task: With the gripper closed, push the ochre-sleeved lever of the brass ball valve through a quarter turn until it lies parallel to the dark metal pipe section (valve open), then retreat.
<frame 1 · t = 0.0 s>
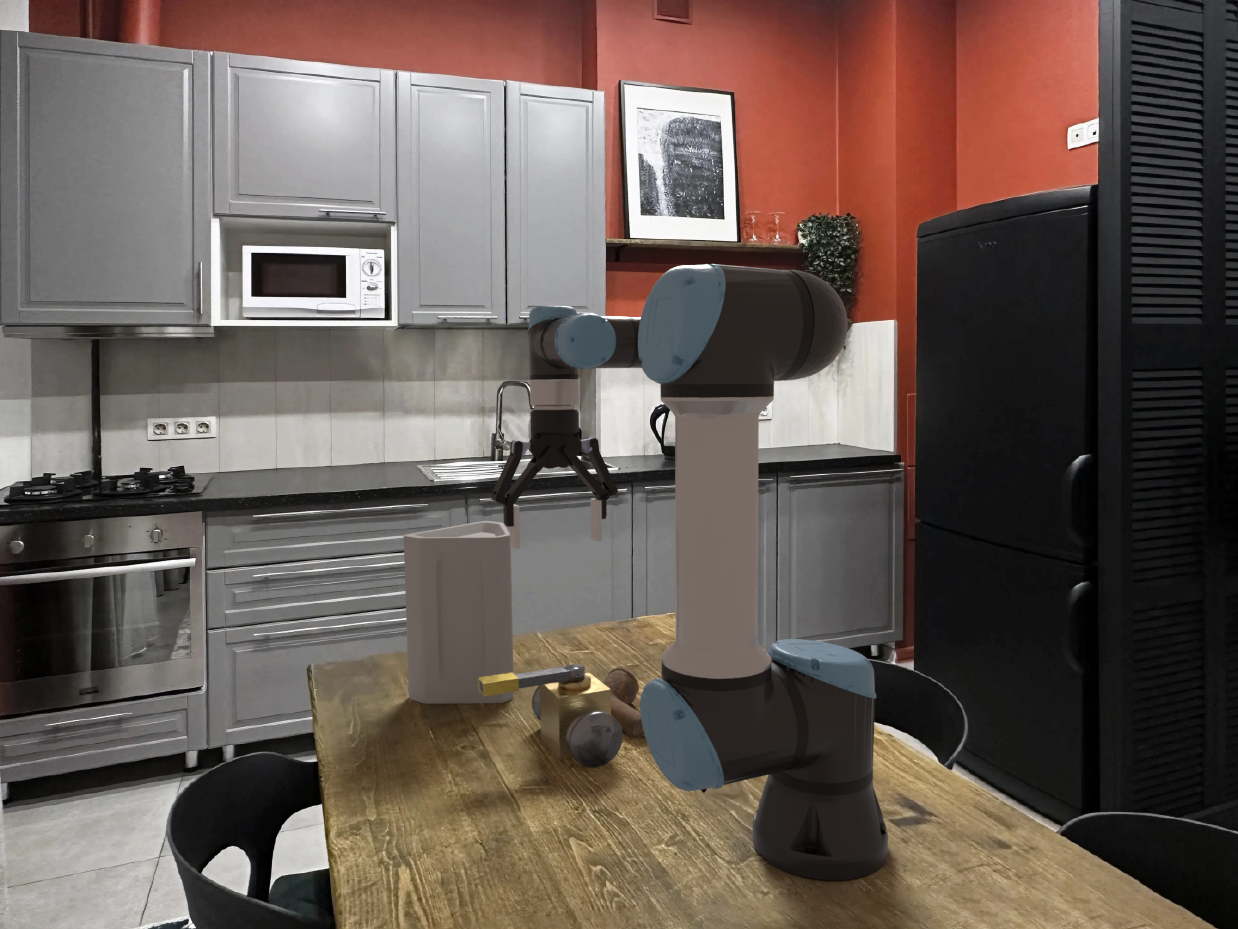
hand: (556, 543, 136), 28 cm above the table, fingers open, 13 cm apart
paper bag: (478, 692, 150), on the table
valve body: (575, 744, 128), on the table
pipe: (625, 720, 138), on the table
lever: (533, 678, 124), point 11 cm above the table, hinge at 90.0°
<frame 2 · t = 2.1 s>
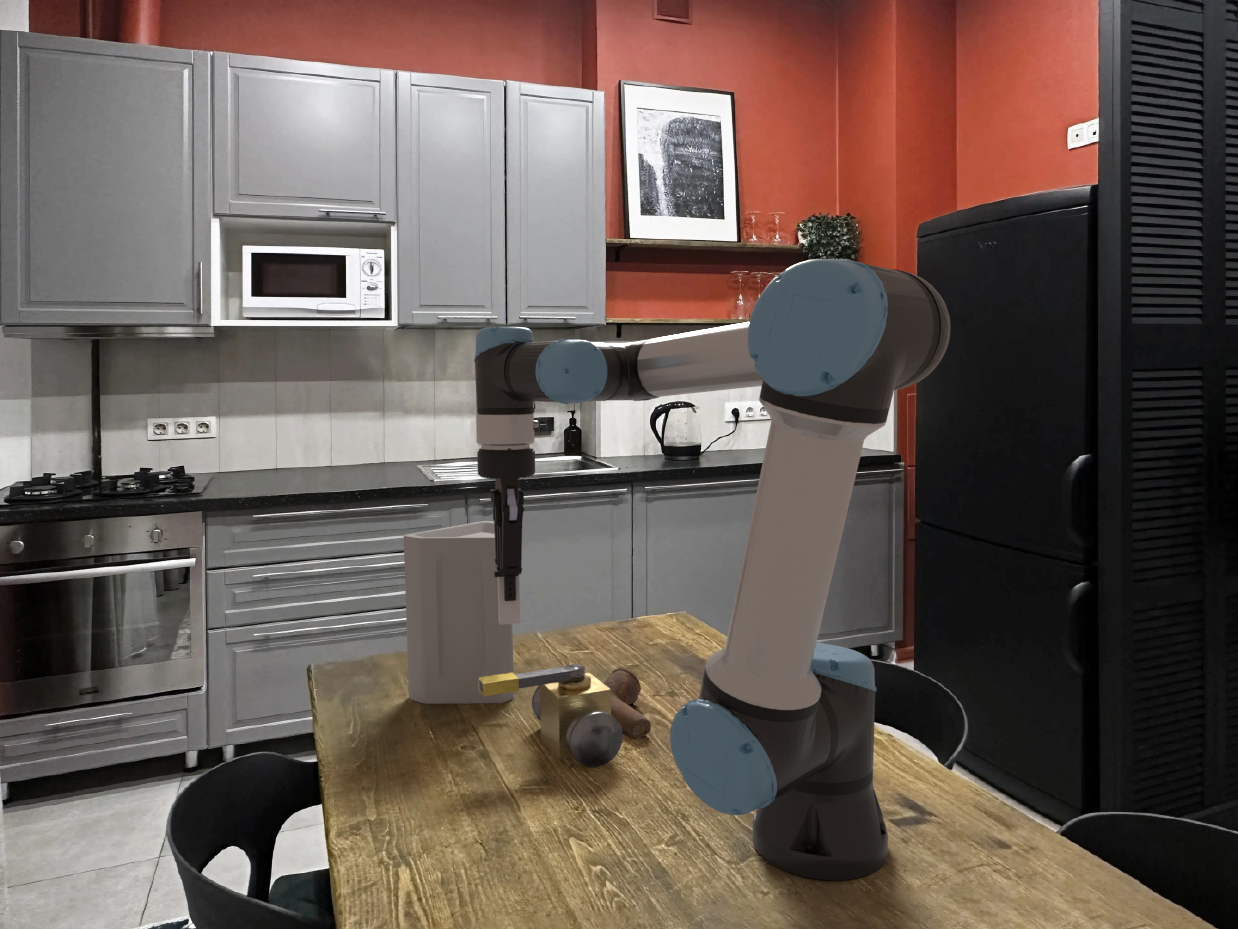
hand: (509, 622, 116), 21 cm above the table, fingers closed
nothing on the table moved.
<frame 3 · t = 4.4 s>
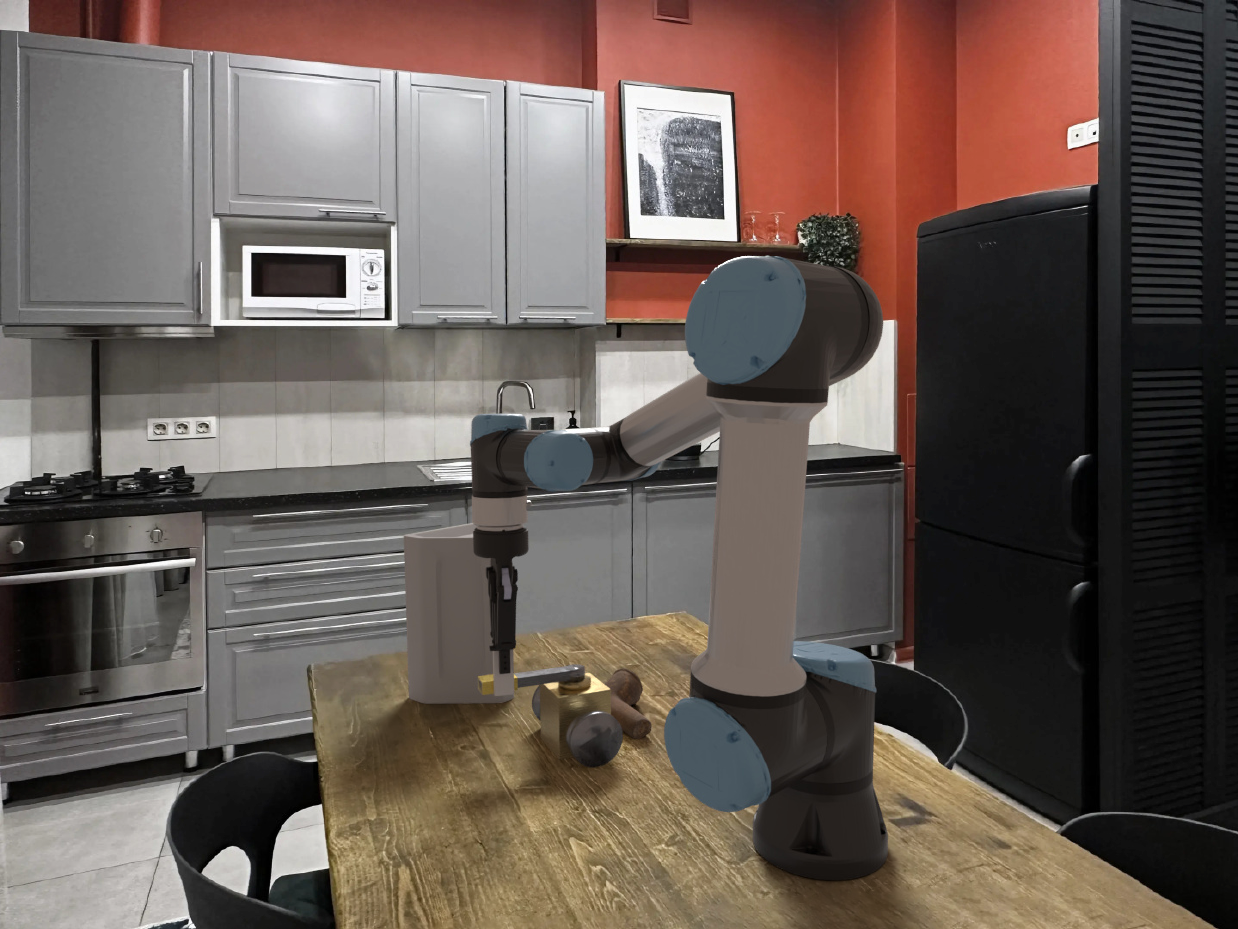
hand: (503, 693, 121), 10 cm above the table, fingers closed
lever: (533, 678, 124), point 11 cm above the table, hinge at 87.6°, touching gripper
everything else where it was.
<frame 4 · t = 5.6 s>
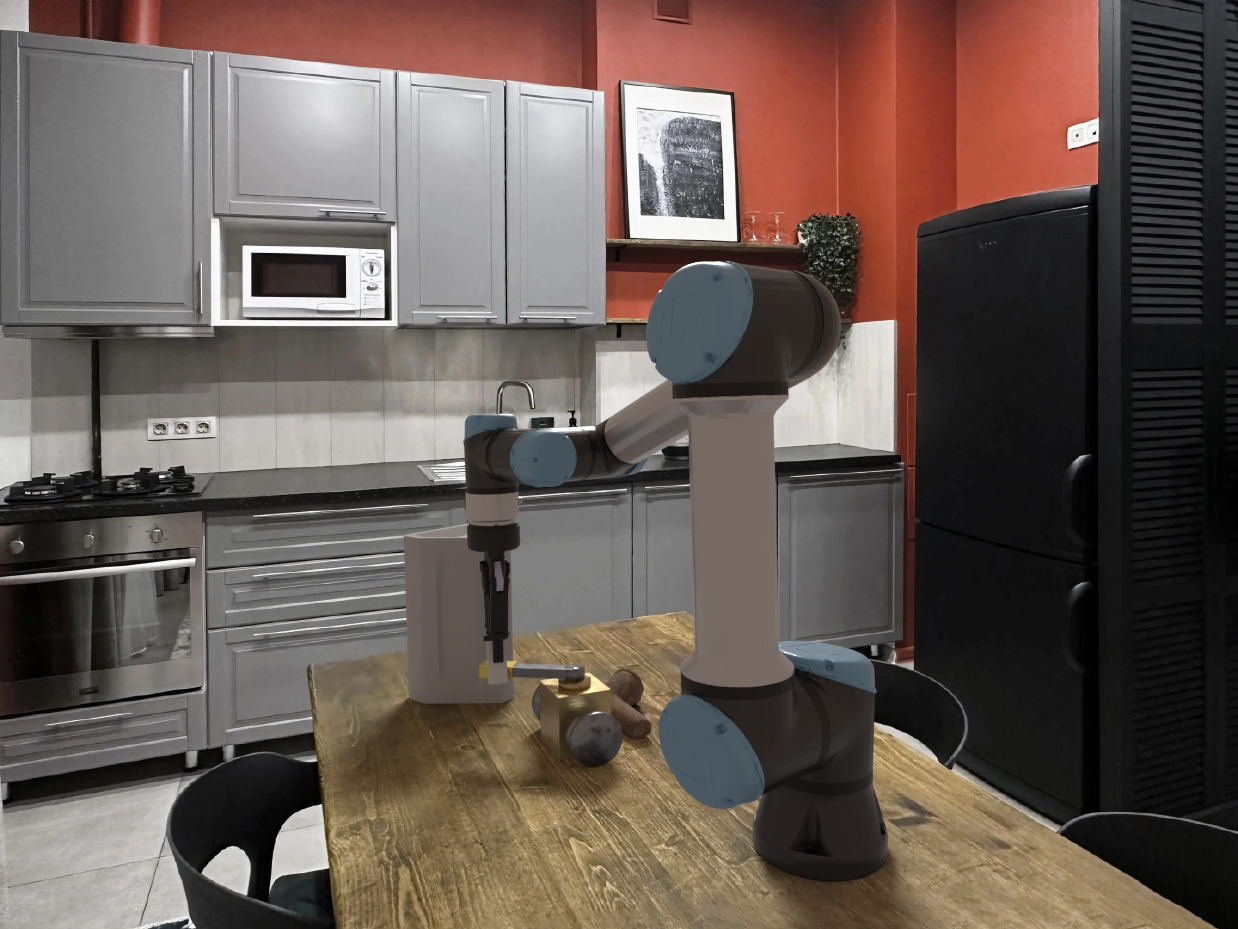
hand: (497, 682, 126), 10 cm above the table, fingers closed
lever: (532, 670, 128), point 11 cm above the table, hinge at 57.7°, touching gripper
everything else where it was.
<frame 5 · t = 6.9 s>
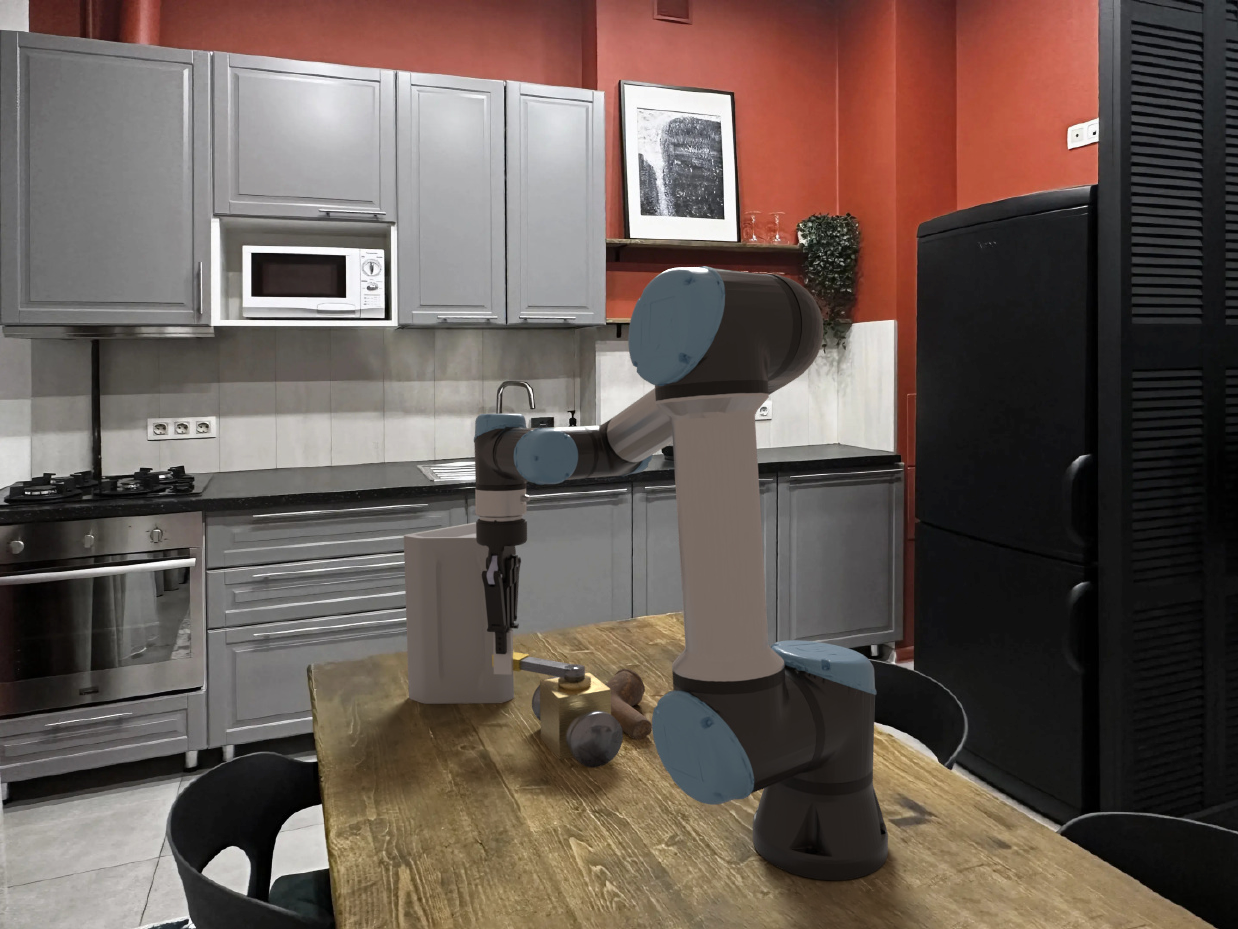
hand: (503, 673, 130), 10 cm above the table, fingers closed
lever: (539, 665, 130), point 11 cm above the table, hinge at 36.0°, touching gripper
everything else where it was.
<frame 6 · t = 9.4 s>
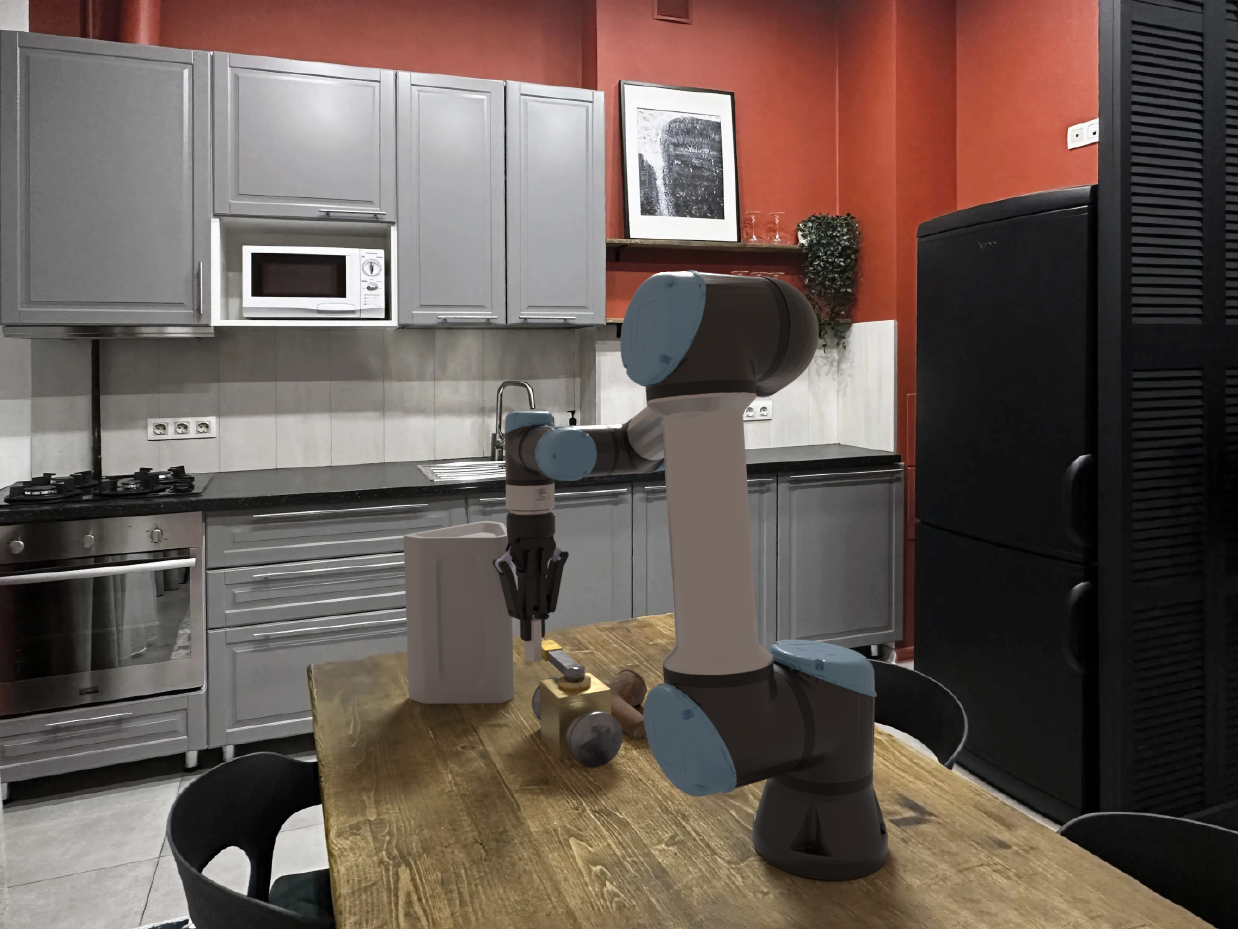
hand: (533, 659, 136), 10 cm above the table, fingers closed
lever: (560, 660, 132), point 11 cm above the table, hinge at -1.0°
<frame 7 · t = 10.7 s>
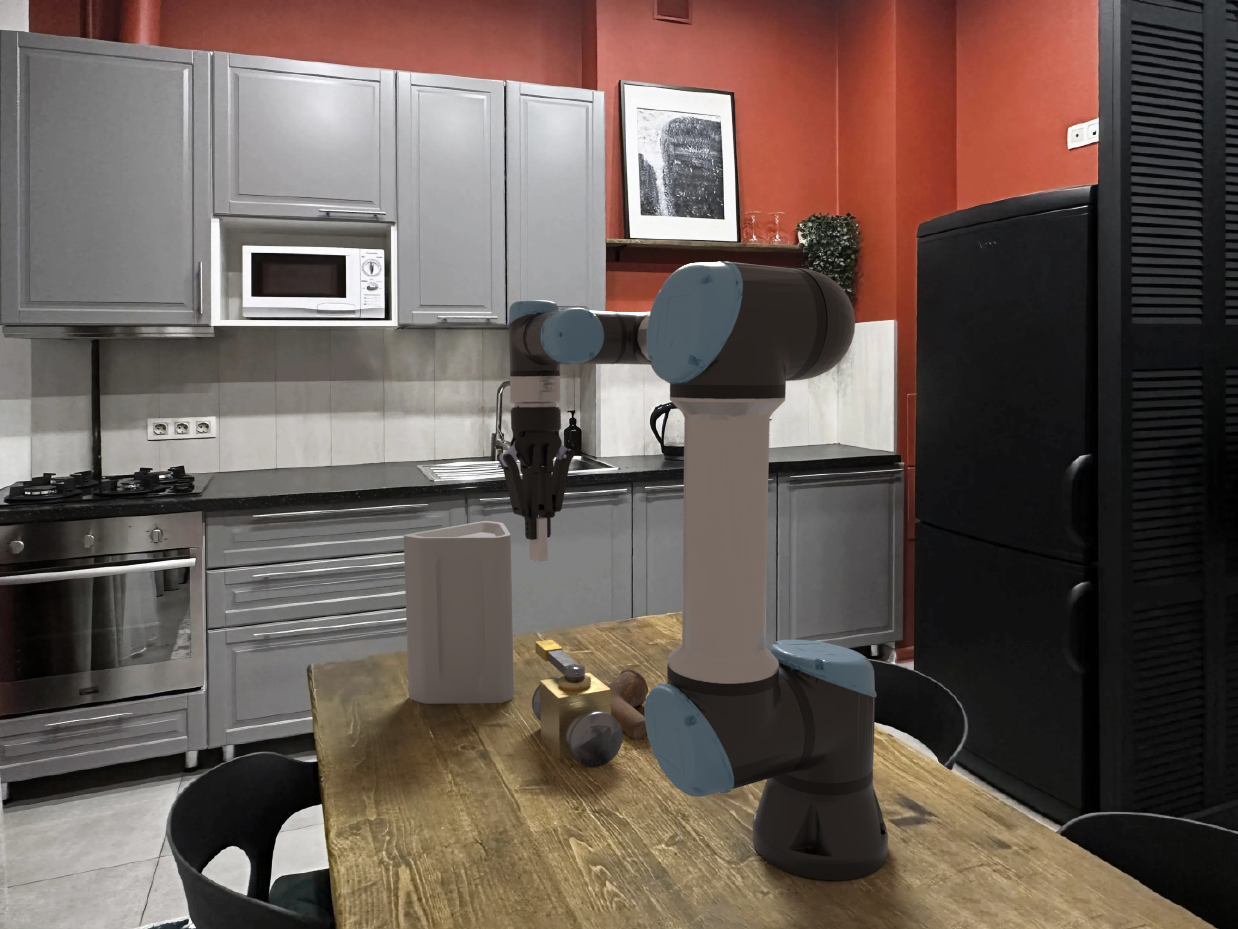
hand: (538, 559, 133), 26 cm above the table, fingers closed
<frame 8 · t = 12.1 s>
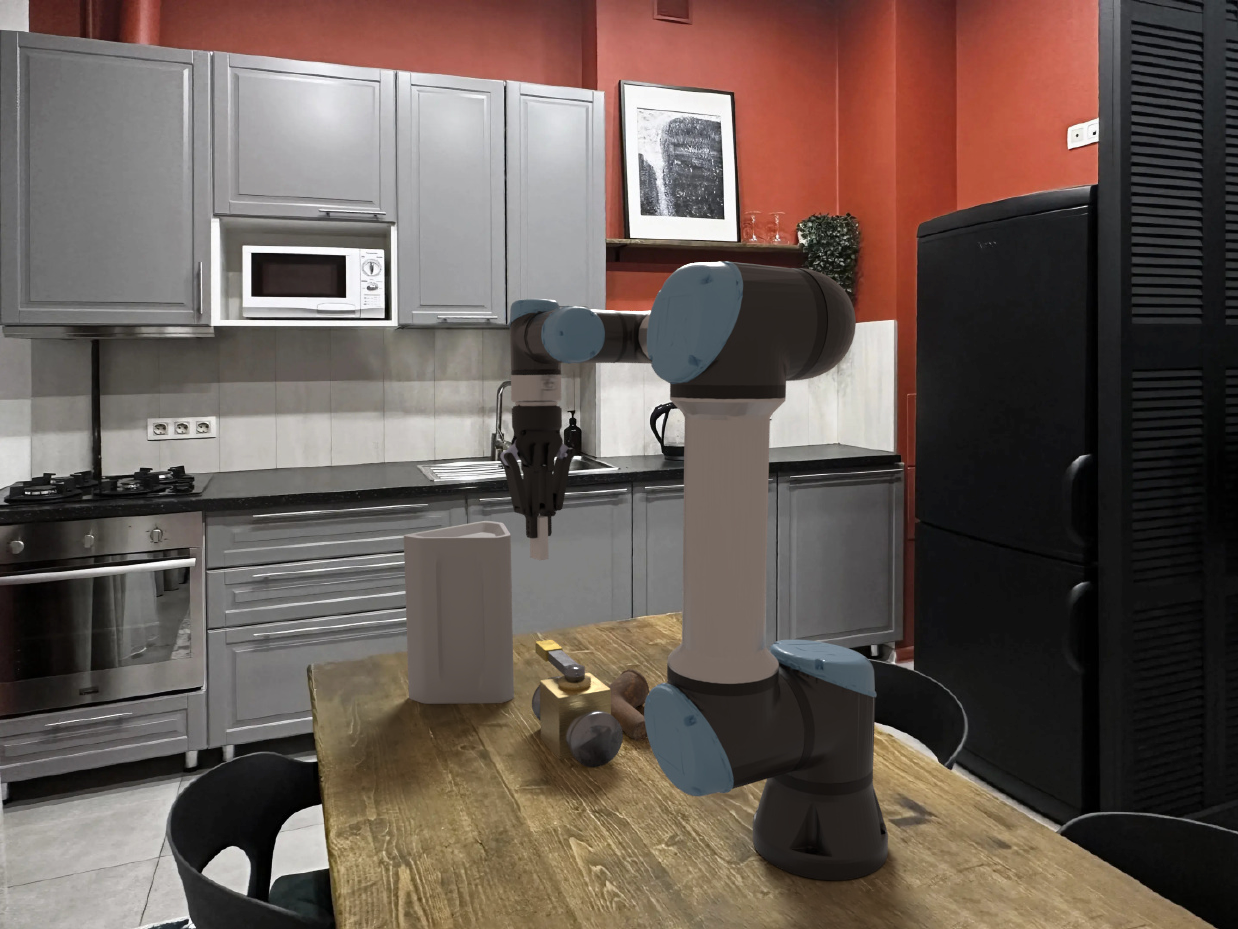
hand: (539, 558, 133), 26 cm above the table, fingers closed
at the end: lever at -1° (first picture: +90°) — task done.
